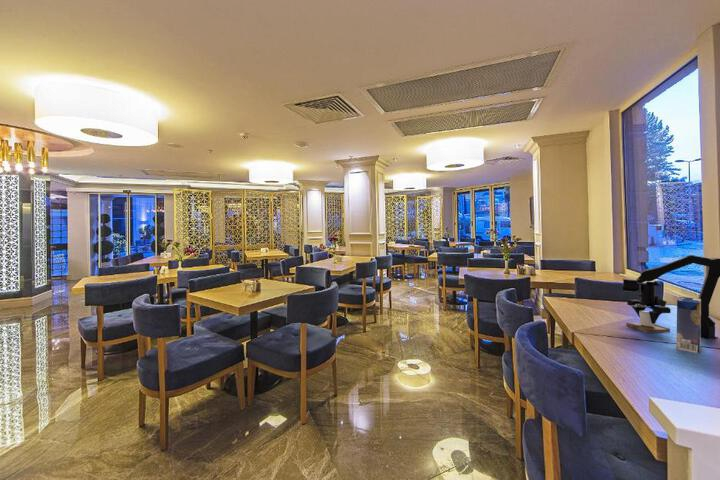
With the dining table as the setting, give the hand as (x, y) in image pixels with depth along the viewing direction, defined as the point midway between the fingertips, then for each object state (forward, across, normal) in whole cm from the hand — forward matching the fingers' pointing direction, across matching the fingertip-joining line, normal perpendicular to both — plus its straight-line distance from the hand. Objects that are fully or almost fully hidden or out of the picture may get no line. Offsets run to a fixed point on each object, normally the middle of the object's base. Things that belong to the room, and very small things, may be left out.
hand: (647, 321), depth 163 cm
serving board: (+4, 0, 0) cm, 4 cm away
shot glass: (+2, 0, 0) cm, 2 cm away
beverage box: (+4, -26, +7) cm, 27 cm away
